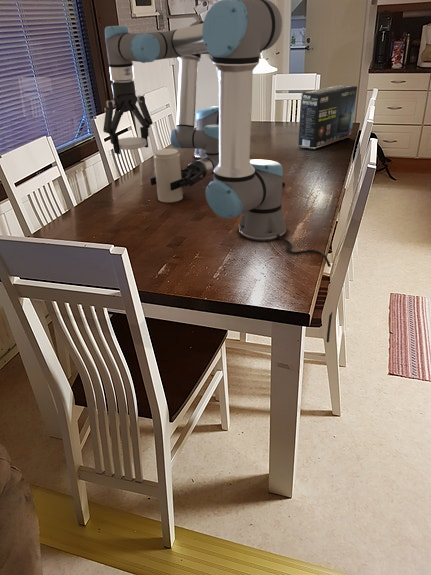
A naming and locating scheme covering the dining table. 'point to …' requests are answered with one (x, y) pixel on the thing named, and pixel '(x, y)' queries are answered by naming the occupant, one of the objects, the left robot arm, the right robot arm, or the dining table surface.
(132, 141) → the lid
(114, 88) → the right robot arm
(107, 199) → the dining table surface
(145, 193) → the dining table surface
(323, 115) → the router box
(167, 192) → the jar
